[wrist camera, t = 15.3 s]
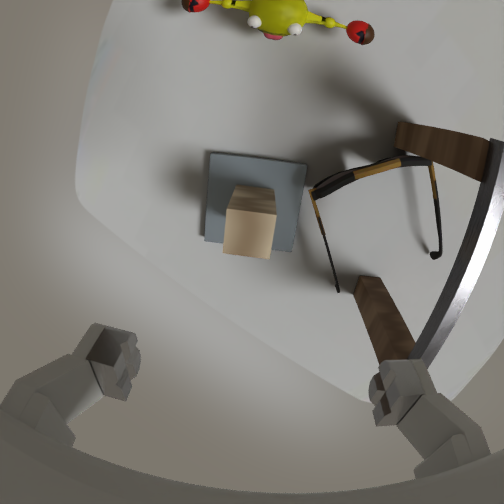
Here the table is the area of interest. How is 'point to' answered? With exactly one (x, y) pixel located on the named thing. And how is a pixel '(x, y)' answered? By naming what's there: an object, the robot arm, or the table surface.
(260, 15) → the toy figure
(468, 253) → the rod
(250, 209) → the block
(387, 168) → the sunglasses
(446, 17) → the table surface
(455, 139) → the rod stand
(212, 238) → the pad
